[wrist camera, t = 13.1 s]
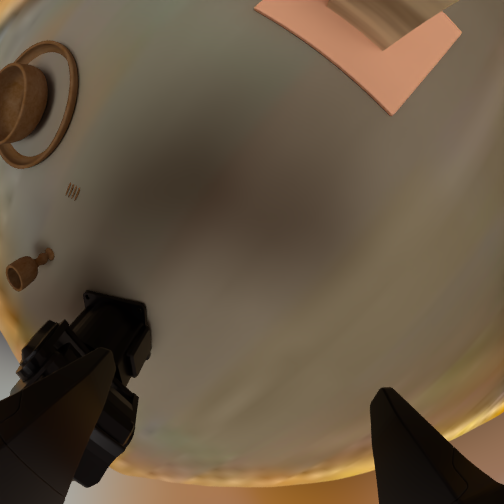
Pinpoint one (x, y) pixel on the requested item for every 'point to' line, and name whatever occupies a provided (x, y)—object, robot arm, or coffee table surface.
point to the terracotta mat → (367, 48)
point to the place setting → (30, 130)
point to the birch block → (387, 16)
